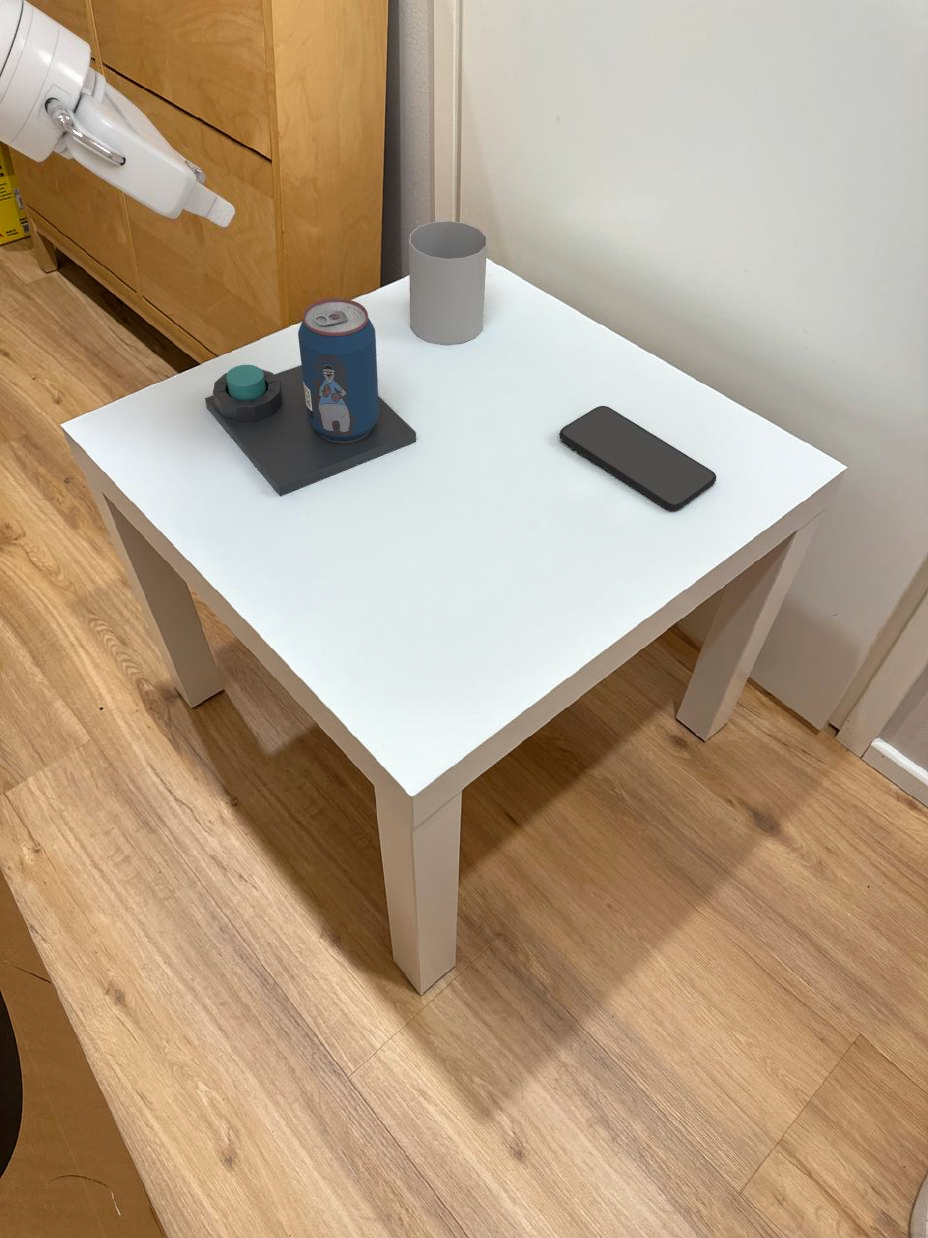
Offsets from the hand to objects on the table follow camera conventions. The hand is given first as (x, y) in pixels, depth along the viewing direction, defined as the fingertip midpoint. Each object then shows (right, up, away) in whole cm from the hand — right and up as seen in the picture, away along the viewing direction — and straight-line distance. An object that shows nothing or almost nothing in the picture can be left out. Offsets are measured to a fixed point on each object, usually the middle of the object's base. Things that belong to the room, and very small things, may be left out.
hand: (214, 198), depth 73 cm
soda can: (+8, -15, +17) cm, 24 cm away
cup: (+18, 0, +31) cm, 36 cm away
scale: (+5, -14, +18) cm, 24 cm away
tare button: (-1, -11, +17) cm, 21 cm away
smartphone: (+37, -18, +16) cm, 44 cm away
